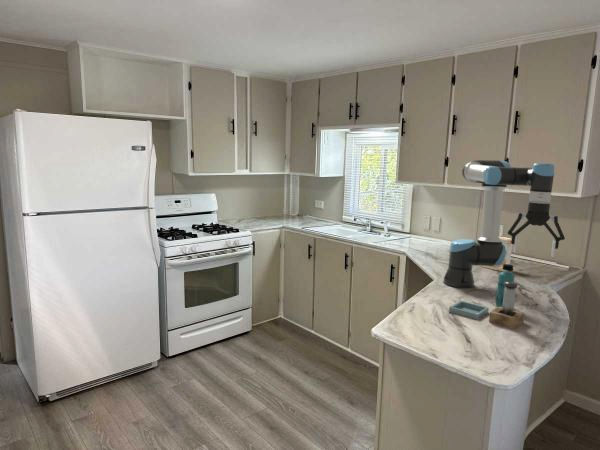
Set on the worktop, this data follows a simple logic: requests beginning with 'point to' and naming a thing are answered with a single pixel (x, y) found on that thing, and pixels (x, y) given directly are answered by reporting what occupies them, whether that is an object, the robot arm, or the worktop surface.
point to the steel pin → (509, 297)
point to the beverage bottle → (502, 278)
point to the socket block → (506, 318)
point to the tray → (468, 310)
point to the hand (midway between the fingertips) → (533, 254)
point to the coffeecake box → (508, 246)
